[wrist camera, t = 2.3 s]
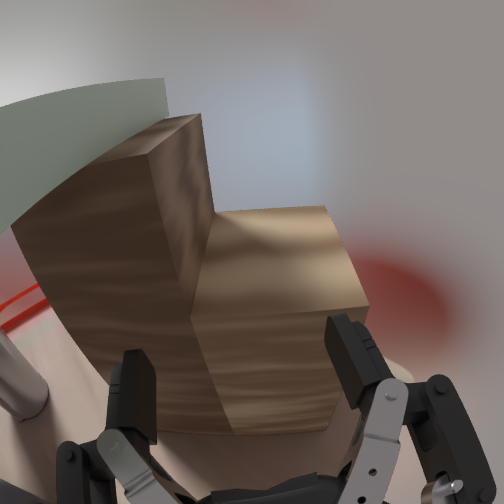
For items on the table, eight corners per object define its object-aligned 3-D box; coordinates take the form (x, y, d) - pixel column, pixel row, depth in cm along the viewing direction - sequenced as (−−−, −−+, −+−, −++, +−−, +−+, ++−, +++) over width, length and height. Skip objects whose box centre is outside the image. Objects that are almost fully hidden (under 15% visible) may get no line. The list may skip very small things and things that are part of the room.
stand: (326, 429, 29) (397, 140, 11) (150, 429, 30) (-2, 193, 12) (312, 343, 40) (325, 105, 22) (167, 348, 41) (94, 135, 23)
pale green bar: (-68, 316, 3) (-127, 176, 1) (-95, 305, 3) (-136, 207, 1) (169, 116, 25) (164, 78, 22) (132, 123, 25) (126, 87, 23)
